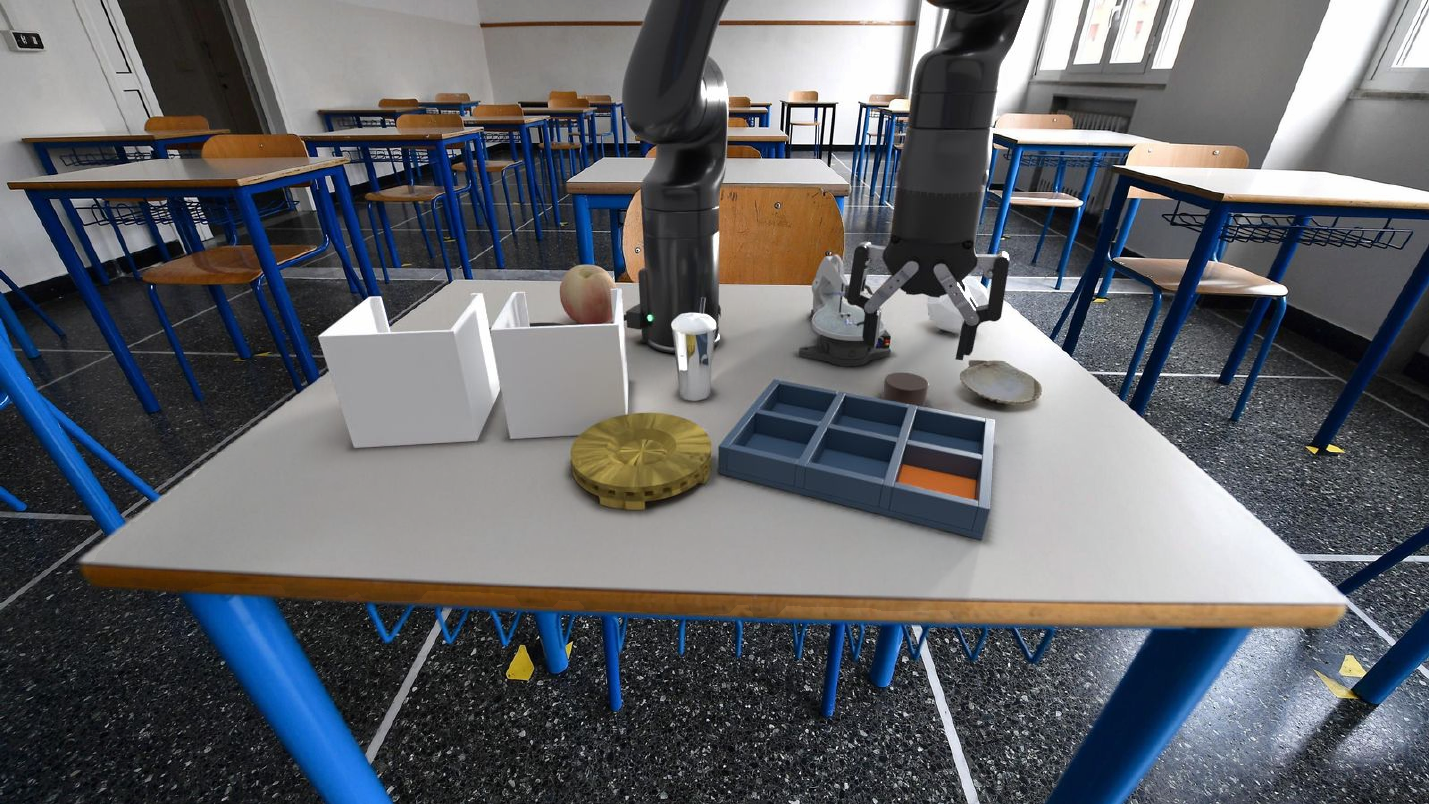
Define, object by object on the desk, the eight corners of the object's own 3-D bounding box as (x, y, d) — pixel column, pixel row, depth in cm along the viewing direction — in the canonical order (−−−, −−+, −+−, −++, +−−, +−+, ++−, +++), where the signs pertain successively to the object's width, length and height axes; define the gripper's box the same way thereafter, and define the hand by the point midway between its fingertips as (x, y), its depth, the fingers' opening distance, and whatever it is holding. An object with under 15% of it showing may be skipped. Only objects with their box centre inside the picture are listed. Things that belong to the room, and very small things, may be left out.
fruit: (564, 335, 81) (556, 277, 77) (563, 315, 88) (556, 261, 84) (623, 330, 82) (619, 273, 79) (617, 311, 89) (613, 258, 85)
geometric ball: (951, 343, 86) (982, 294, 85) (978, 344, 78) (1012, 290, 77) (907, 315, 85) (938, 266, 84) (929, 313, 77) (964, 259, 76)
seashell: (966, 422, 63) (1050, 413, 61) (966, 399, 62) (1052, 389, 59) (954, 377, 70) (1030, 368, 67) (953, 355, 68) (1030, 345, 66)
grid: (718, 473, 52) (718, 445, 50) (772, 402, 63) (773, 378, 62) (981, 540, 44) (990, 509, 43) (988, 445, 56) (995, 419, 54)
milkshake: (723, 385, 67) (724, 299, 62) (707, 407, 62) (707, 315, 58) (685, 380, 68) (683, 295, 64) (667, 400, 64) (663, 310, 59)
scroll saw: (786, 241, 83) (867, 241, 84) (782, 314, 88) (859, 313, 89) (811, 282, 66) (914, 282, 66) (804, 370, 71) (900, 369, 71)
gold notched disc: (551, 459, 54) (547, 438, 53) (664, 420, 60) (663, 401, 59) (614, 529, 45) (612, 506, 44) (739, 475, 51) (739, 454, 50)
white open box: (354, 447, 55) (317, 336, 50) (396, 394, 65) (369, 296, 60) (627, 432, 58) (618, 324, 53) (628, 383, 67) (621, 288, 62)
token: (878, 407, 62) (881, 385, 61) (885, 390, 66) (888, 369, 65) (921, 415, 61) (926, 393, 60) (927, 397, 64) (930, 376, 63)
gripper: (1027, 181, 54) (991, 348, 61) (868, 175, 59) (852, 330, 66) (1030, 193, 48) (989, 377, 55) (852, 185, 53) (836, 354, 60)
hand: (914, 351), depth 61 cm, fingers open, 8 cm apart
